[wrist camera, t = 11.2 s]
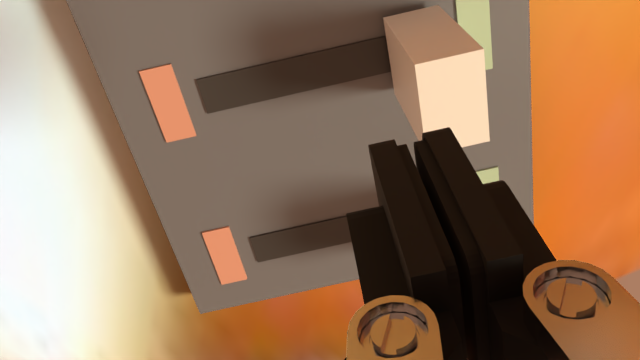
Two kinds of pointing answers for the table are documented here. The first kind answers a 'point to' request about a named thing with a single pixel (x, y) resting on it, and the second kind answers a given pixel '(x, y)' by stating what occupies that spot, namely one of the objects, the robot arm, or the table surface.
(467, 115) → the block
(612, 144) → the table surface
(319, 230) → the breaker panel
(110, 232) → the table surface
